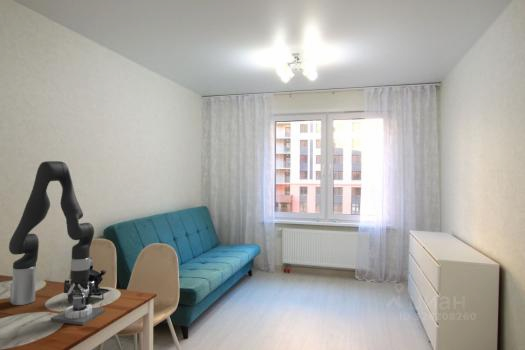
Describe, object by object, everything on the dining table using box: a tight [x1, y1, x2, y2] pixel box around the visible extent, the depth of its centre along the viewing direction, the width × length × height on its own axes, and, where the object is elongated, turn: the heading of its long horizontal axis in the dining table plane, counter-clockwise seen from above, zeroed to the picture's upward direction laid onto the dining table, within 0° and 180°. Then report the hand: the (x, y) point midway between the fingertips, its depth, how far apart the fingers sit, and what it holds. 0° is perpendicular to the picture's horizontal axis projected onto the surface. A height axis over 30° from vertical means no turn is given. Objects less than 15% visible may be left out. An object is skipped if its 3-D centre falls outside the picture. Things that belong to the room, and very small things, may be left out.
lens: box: [72, 292, 86, 311], centre depth 146 cm, size 5×5×9 cm
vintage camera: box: [73, 256, 111, 300], centre depth 167 cm, size 10×16×20 cm, turn 79°
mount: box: [50, 303, 106, 326], centre depth 146 cm, size 16×14×4 cm
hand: (79, 303), depth 146 cm, fingers open, 8 cm apart
